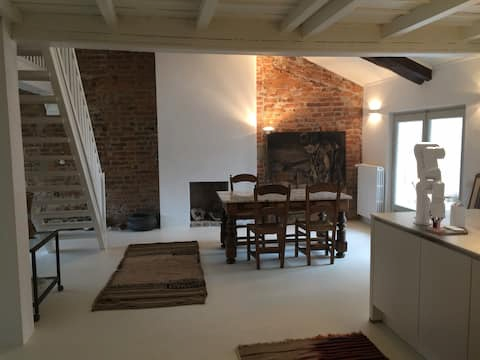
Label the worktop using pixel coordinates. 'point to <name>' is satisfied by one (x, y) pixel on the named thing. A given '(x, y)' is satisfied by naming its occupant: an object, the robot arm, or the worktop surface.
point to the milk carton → (457, 214)
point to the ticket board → (449, 231)
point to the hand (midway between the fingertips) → (436, 227)
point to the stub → (437, 227)
